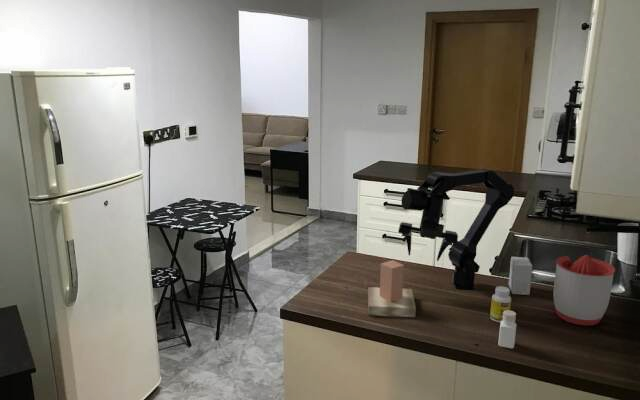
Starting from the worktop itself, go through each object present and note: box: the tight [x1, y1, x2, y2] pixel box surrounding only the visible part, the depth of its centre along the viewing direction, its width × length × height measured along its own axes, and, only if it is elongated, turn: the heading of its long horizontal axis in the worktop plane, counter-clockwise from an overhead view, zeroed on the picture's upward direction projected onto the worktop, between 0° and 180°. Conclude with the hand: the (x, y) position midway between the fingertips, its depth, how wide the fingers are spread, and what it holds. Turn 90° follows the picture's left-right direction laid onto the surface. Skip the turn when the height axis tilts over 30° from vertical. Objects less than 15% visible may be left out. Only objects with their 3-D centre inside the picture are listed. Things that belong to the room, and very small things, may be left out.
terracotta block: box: [379, 259, 405, 302], centre depth 160 cm, size 5×5×11 cm
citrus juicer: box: [552, 254, 616, 326], centre depth 154 cm, size 16×17×20 cm
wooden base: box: [367, 286, 417, 318], centre depth 162 cm, size 14×14×3 cm
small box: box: [508, 256, 533, 296], centre depth 174 cm, size 8×6×10 cm
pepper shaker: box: [497, 309, 517, 350], centre depth 139 cm, size 4×4×10 cm
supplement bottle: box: [489, 285, 512, 324], centre depth 153 cm, size 5×5×10 cm
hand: (423, 257), depth 169 cm, fingers open, 9 cm apart
